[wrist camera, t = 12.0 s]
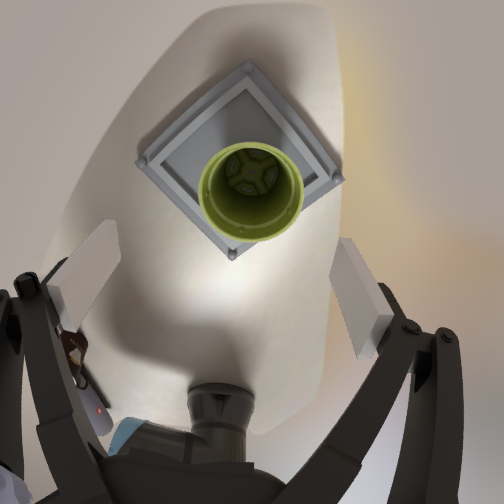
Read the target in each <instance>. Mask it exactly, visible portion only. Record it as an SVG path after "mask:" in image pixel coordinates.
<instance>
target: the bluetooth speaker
mask: <svg viewBox="0 0 504 504" xmlns="http://www.w3.org/2000/svg"><path fill="white" fill-rule="evenodd" d="M77 383H78V384H79V386H80V387H84V386H85V385H86V380H85V379H84V377H83V376H82V375H81V374H80V373H79V376H78V380H77ZM76 388H77V386H76ZM77 390H78V393H79V396H80V398H81V401H82V403H83V406H84V408H85V411H86V413H87V415H88V418H89V420H90V422H91V424H92V427H93V429H94V431H95V433H96V435H97V436H105V435H107V434H108V433H109V432H110V431H111V430H112V428H113V421H112V418H111V416H110V415H109V413H108V411H107V410H106V408H105V407H104V405H103V404H102V402H101V399H100V397H99V395H98V394H97V392H96V391H95V389H94V388H93V386H92V385H91V384H90V383H89V382H88V387H87V388H86V389H85V390H81V389H79V388H77Z"/></svg>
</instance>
